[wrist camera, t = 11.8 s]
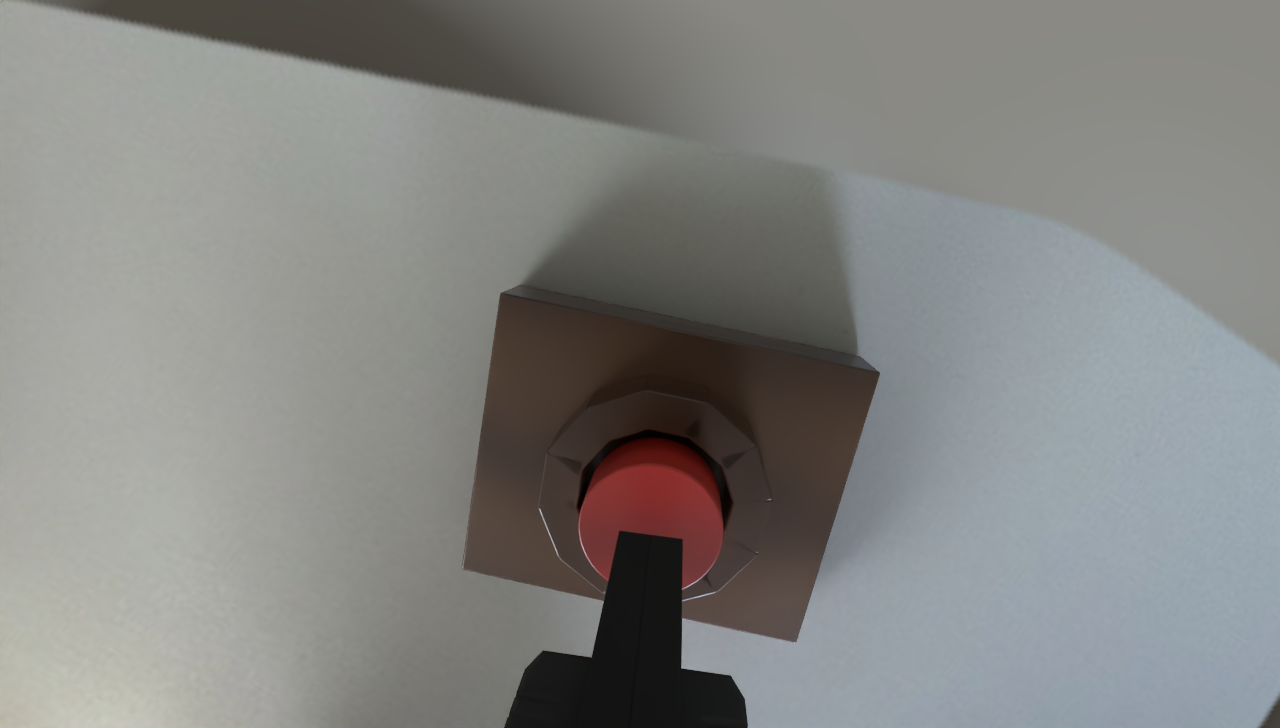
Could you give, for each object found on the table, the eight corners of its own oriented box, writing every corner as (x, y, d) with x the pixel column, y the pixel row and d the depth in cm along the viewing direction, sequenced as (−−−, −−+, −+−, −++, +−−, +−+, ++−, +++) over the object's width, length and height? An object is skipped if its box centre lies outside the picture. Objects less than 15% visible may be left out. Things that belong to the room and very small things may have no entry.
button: (602, 423, 18) (591, 449, 16) (733, 452, 18) (739, 481, 16) (579, 540, 19) (566, 579, 17) (703, 568, 19) (705, 609, 17)
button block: (518, 284, 21) (480, 300, 17) (861, 356, 21) (901, 388, 17) (481, 537, 23) (440, 602, 19) (786, 604, 23) (806, 683, 19)
